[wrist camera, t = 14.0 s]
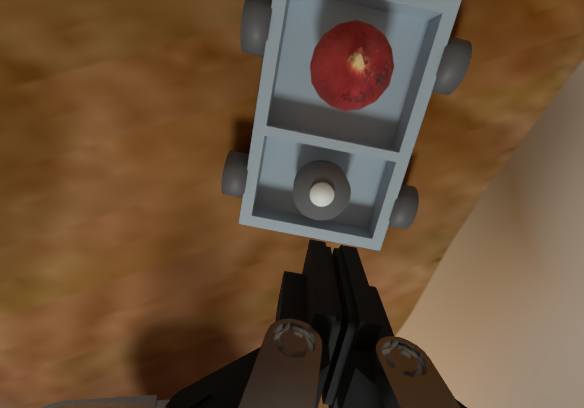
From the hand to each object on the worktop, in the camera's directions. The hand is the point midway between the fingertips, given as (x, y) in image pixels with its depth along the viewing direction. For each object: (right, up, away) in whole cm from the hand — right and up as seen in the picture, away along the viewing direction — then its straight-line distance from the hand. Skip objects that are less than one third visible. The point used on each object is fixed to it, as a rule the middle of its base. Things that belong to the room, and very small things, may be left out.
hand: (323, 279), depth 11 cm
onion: (+3, +14, +15) cm, 20 cm away
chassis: (+2, +10, +17) cm, 20 cm away
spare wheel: (+1, +4, +16) cm, 17 cm away
